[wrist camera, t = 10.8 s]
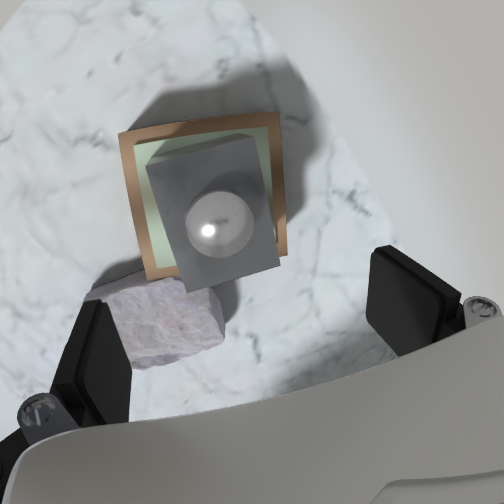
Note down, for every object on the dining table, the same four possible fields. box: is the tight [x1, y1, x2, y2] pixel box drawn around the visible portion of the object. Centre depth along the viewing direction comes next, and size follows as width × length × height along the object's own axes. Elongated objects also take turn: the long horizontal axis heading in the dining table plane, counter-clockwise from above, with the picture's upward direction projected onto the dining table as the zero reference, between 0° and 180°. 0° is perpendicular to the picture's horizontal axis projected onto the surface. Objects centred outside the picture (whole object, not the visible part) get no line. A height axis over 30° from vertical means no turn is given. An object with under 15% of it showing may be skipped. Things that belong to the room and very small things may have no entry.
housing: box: [145, 133, 281, 293], centre depth 20 cm, size 6×8×6 cm
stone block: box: [83, 269, 225, 370], centre depth 29 cm, size 12×5×10 cm
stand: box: [118, 112, 288, 280], centre depth 24 cm, size 11×11×4 cm
